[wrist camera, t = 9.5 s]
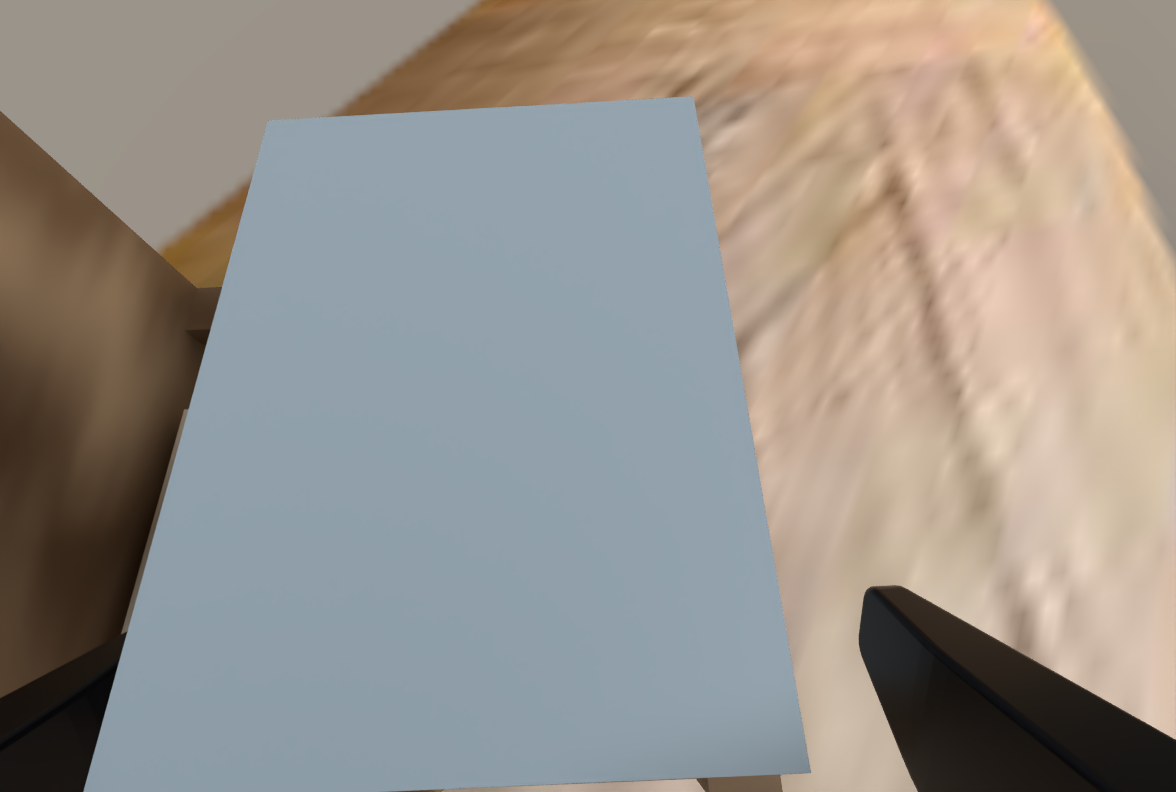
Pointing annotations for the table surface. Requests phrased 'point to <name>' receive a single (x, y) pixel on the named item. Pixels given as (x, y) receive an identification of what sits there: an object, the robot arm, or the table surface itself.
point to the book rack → (92, 415)
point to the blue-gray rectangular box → (463, 477)
